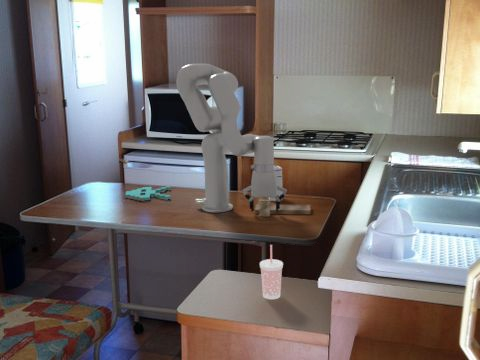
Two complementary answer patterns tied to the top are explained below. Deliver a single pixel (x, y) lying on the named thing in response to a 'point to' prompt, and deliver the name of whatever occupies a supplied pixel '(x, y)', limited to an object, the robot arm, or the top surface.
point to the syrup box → (278, 181)
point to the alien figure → (148, 193)
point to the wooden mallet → (264, 207)
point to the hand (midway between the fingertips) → (264, 210)
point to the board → (287, 209)
